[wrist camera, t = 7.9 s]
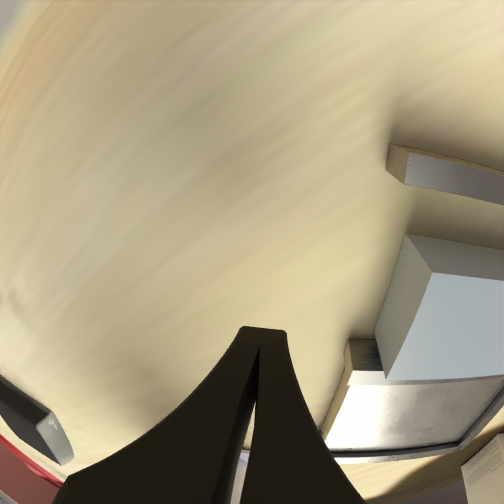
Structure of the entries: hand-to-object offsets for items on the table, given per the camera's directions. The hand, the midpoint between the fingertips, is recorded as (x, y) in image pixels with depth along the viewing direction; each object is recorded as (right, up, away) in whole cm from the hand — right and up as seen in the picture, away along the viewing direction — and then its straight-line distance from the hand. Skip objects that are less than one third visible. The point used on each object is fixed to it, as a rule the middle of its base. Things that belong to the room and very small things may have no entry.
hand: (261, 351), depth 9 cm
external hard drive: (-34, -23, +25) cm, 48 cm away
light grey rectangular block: (+12, +1, +5) cm, 13 cm away
